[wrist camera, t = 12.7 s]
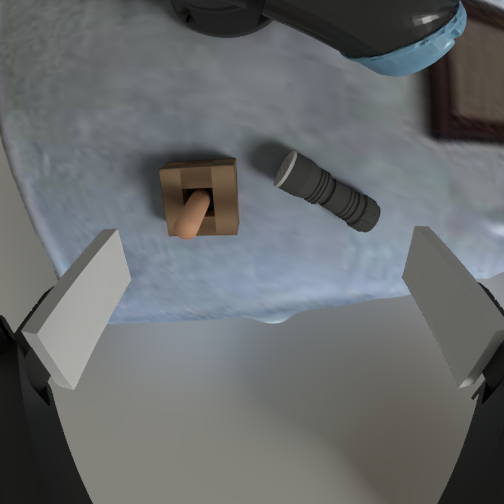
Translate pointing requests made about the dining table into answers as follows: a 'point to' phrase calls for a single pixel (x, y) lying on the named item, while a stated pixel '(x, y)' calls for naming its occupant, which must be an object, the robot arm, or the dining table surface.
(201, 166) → the socket block
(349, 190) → the flashlight
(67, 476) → the robot arm
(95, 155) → the dining table surface
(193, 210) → the peg
